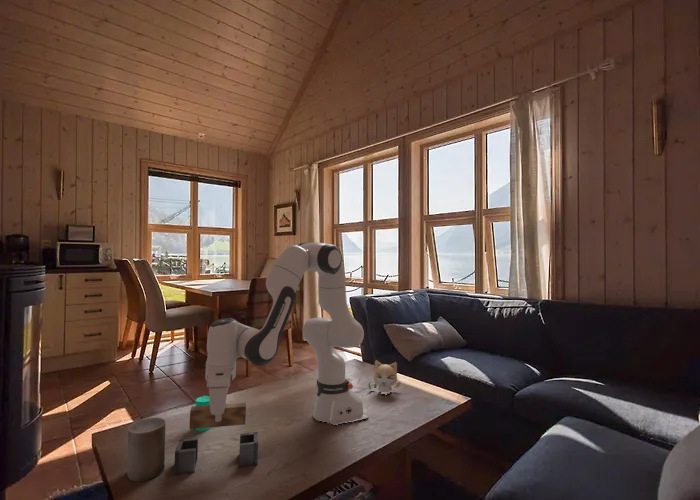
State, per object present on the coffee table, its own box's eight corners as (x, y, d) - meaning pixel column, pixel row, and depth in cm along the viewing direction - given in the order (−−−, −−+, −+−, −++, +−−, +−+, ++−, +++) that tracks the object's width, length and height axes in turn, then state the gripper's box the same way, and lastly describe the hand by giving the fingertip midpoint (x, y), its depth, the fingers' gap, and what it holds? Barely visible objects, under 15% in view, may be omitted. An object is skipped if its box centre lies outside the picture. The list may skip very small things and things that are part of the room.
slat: (245, 420, 115) (246, 402, 115) (245, 424, 112) (246, 406, 112) (190, 424, 111) (191, 406, 111) (189, 429, 108) (190, 410, 108)
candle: (206, 432, 130) (207, 398, 130) (191, 430, 131) (192, 396, 132) (215, 424, 136) (216, 392, 136) (201, 422, 137) (202, 390, 137)
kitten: (366, 395, 169) (367, 363, 169) (370, 387, 179) (371, 357, 179) (398, 399, 165) (399, 366, 166) (400, 391, 175) (401, 360, 175)
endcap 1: (174, 475, 105) (174, 452, 105) (178, 460, 112) (179, 439, 112) (194, 472, 106) (194, 450, 106) (197, 458, 113) (198, 437, 114)
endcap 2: (256, 451, 118) (257, 431, 118) (257, 464, 111) (258, 443, 111) (239, 454, 117) (240, 433, 117) (239, 467, 110) (239, 445, 110)
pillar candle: (170, 462, 111) (171, 413, 111) (154, 482, 101) (155, 428, 102) (138, 462, 111) (139, 413, 111) (118, 482, 101) (120, 428, 101)
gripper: (213, 363, 121) (211, 404, 121) (206, 383, 101) (204, 433, 101) (232, 362, 123) (231, 403, 122) (230, 382, 103) (228, 431, 103)
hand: (218, 417), depth 111 cm, fingers closed on slat, 3 cm apart
